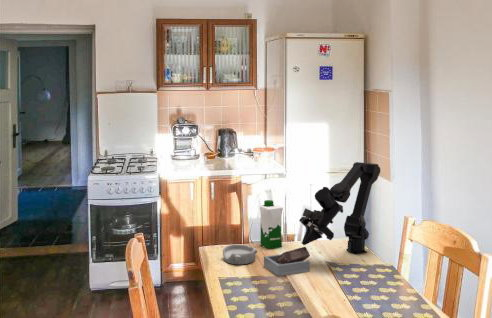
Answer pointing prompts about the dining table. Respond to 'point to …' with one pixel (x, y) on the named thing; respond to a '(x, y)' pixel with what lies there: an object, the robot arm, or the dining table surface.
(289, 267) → the tray
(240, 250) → the dish
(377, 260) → the dining table surface
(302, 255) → the box
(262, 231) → the milk carton
